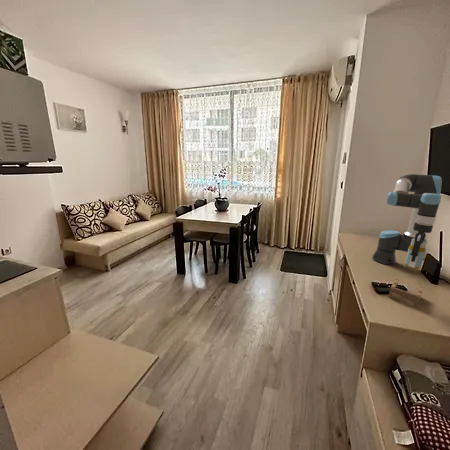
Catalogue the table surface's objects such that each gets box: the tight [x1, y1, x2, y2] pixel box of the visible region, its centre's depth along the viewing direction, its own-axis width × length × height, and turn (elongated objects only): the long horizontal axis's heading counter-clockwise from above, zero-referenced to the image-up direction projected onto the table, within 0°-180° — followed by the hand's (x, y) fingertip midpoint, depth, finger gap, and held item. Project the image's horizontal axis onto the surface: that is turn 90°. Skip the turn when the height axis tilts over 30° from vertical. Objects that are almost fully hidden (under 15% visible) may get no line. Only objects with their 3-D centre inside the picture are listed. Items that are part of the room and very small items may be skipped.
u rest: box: [388, 278, 424, 308], centre depth 135 cm, size 14×13×6 cm
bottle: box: [404, 238, 428, 270], centre depth 130 cm, size 7×7×15 cm
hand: (412, 264), depth 132 cm, fingers closed on bottle, 7 cm apart
